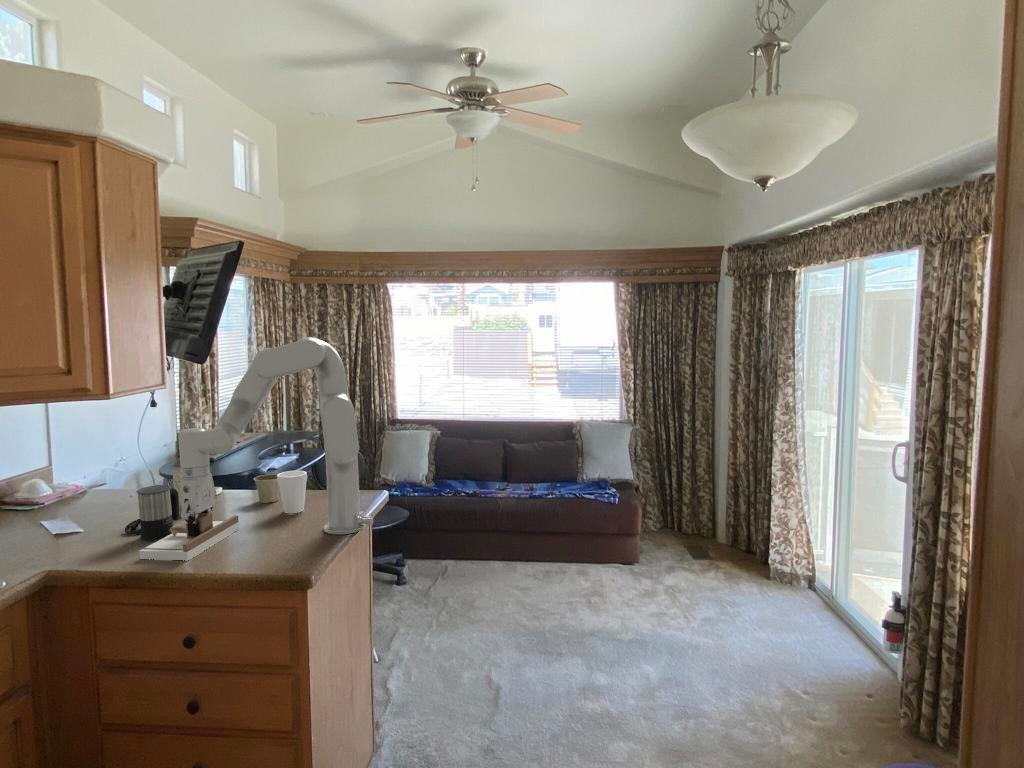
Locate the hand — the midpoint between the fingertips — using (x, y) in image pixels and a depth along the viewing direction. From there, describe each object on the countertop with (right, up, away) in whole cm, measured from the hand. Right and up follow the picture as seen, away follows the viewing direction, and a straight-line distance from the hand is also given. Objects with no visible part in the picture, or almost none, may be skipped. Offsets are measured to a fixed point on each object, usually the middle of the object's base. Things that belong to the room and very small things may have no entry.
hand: (200, 532), depth 189 cm
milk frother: (-20, -3, +10) cm, 23 cm away
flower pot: (+3, +1, +45) cm, 45 cm away
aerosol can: (-19, -1, +31) cm, 37 cm away
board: (-3, -4, +1) cm, 5 cm away
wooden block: (-3, -1, +1) cm, 3 cm away
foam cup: (+17, 0, +31) cm, 35 cm away
